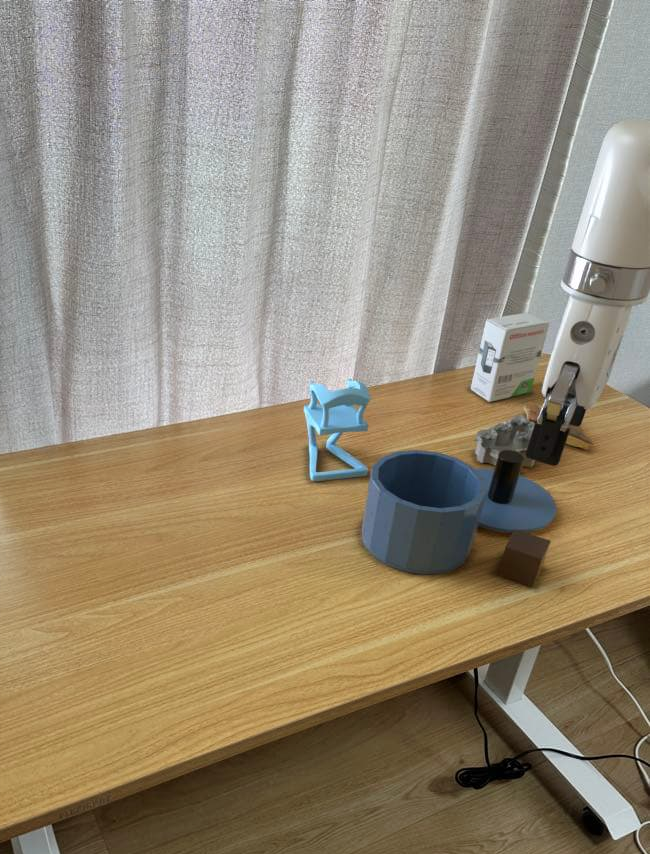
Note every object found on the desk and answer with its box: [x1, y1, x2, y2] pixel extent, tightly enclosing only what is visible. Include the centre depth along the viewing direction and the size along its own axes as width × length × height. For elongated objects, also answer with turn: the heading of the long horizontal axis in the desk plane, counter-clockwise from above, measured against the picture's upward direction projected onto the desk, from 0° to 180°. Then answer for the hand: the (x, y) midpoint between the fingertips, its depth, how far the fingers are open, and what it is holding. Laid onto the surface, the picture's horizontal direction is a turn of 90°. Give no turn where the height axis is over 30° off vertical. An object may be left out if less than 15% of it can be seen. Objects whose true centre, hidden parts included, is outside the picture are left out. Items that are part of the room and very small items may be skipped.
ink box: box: [470, 312, 550, 403], centre depth 123 cm, size 9×5×12 cm, turn 116°
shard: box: [523, 404, 594, 451], centre depth 116 cm, size 11×8×2 cm
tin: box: [361, 449, 487, 575], centre depth 92 cm, size 13×13×8 cm
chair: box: [303, 378, 371, 482], centre depth 104 cm, size 8×8×12 cm
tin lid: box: [475, 450, 557, 534], centre depth 99 cm, size 14×14×7 cm
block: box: [496, 529, 552, 588], centre depth 89 cm, size 4×4×4 cm
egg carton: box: [473, 413, 536, 468], centre depth 110 cm, size 11×8×4 cm
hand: (553, 440), depth 83 cm, fingers open, 9 cm apart
